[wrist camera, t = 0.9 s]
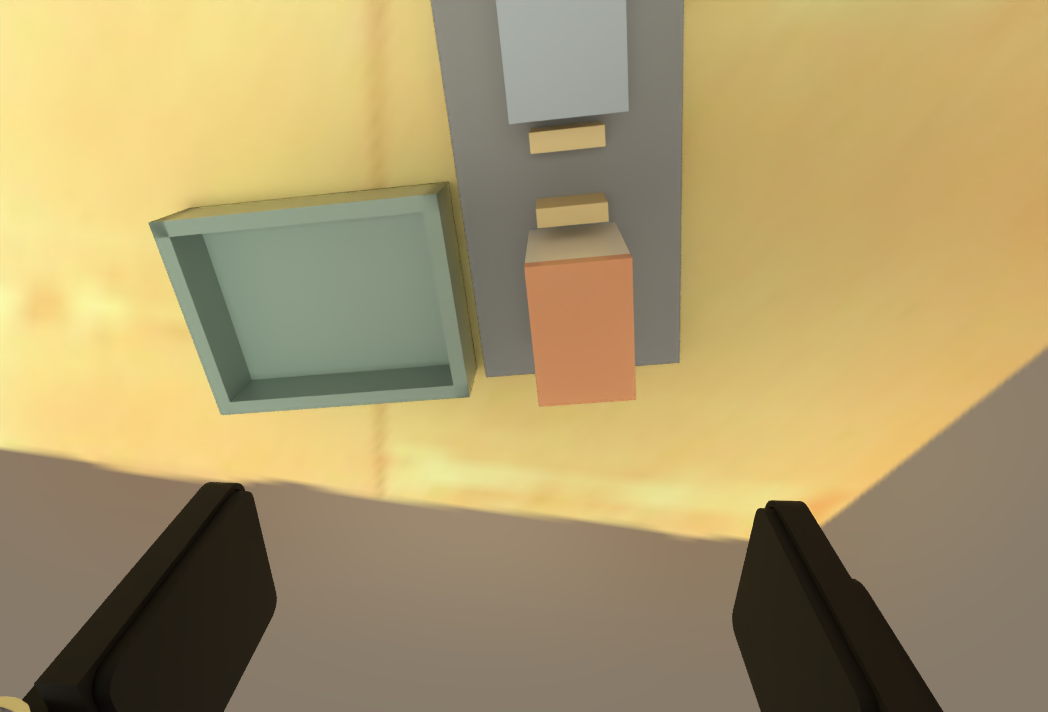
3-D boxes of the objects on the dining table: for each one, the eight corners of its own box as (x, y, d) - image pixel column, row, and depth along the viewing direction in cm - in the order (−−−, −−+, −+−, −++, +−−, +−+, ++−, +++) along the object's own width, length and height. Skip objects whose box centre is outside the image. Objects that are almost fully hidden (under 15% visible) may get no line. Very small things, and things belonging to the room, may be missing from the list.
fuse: (615, 221, 27) (632, 257, 21) (619, 340, 29) (635, 399, 24) (528, 230, 27) (524, 267, 22) (540, 346, 30) (539, 406, 24)
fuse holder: (679, -118, 22) (732, -198, 16) (675, 354, 31) (708, 425, 24) (422, -83, 23) (375, -145, 17) (488, 368, 31) (472, 441, 25)
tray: (448, 181, 27) (436, 193, 24) (476, 368, 31) (469, 397, 28) (189, 208, 28) (148, 222, 25) (250, 385, 32) (221, 415, 29)
